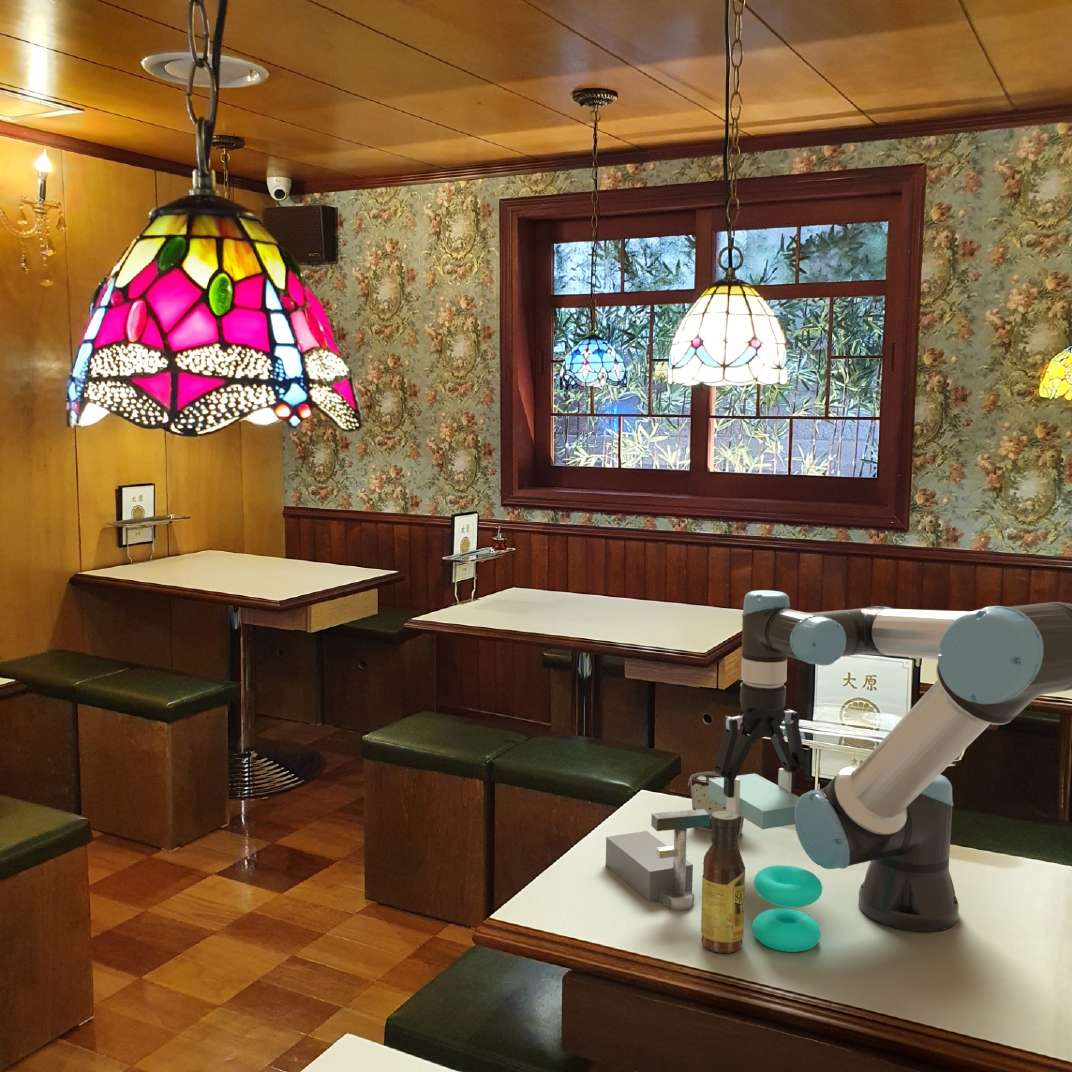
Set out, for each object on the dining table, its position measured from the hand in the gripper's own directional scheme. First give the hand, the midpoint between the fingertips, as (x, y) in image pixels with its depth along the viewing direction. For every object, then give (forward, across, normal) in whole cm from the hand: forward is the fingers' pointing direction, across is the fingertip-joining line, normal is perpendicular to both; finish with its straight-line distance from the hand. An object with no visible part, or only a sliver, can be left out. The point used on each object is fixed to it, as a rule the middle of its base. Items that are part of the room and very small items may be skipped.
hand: (758, 811), depth 186 cm
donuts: (+12, +9, +21) cm, 26 cm away
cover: (0, 0, 0) cm, 0 cm away
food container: (+12, -7, -22) cm, 26 cm away
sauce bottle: (+12, +19, +19) cm, 29 cm away
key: (+10, +18, +5) cm, 21 cm away
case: (+12, +18, -3) cm, 22 cm away
